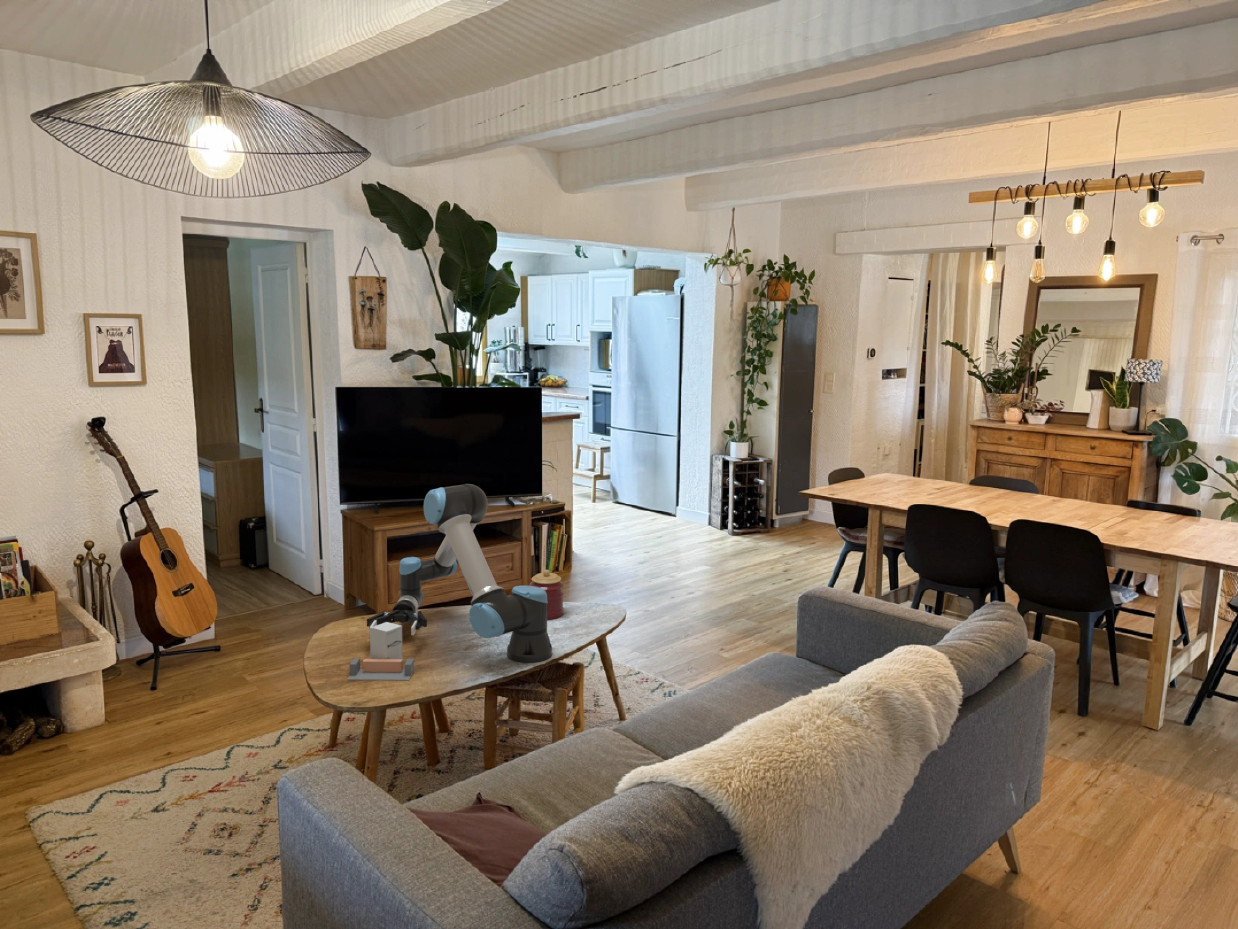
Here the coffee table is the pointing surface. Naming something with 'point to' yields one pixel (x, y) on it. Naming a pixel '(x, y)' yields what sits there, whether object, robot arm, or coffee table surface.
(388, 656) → the supplement box
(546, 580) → the canister
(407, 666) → the housing
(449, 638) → the coffee table surface
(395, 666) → the pink eraser brick
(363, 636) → the coffee table surface
